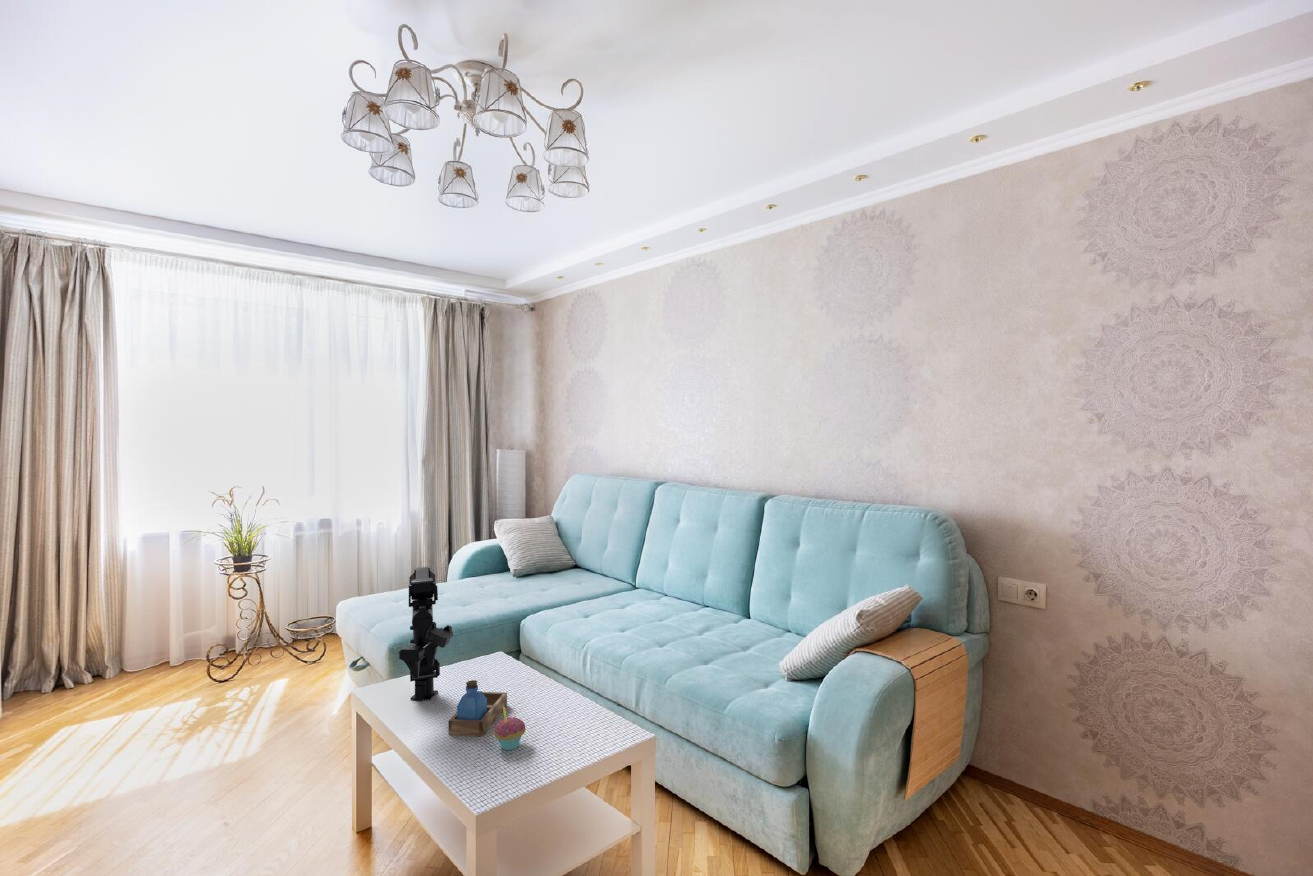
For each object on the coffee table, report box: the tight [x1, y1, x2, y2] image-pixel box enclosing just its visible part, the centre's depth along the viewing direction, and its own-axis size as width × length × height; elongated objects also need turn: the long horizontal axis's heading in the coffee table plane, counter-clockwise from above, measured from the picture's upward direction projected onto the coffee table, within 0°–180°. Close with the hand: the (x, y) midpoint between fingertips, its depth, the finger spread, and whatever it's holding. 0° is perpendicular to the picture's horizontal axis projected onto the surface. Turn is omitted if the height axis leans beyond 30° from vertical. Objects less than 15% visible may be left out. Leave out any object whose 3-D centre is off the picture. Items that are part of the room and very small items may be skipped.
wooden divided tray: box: [447, 691, 508, 737], centre depth 182 cm, size 20×10×4 cm, turn 173°
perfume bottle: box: [456, 679, 487, 720], centre depth 178 cm, size 6×6×12 cm
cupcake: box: [493, 705, 527, 751], centre depth 167 cm, size 9×8×12 cm
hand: (423, 671), depth 186 cm, fingers open, 9 cm apart
